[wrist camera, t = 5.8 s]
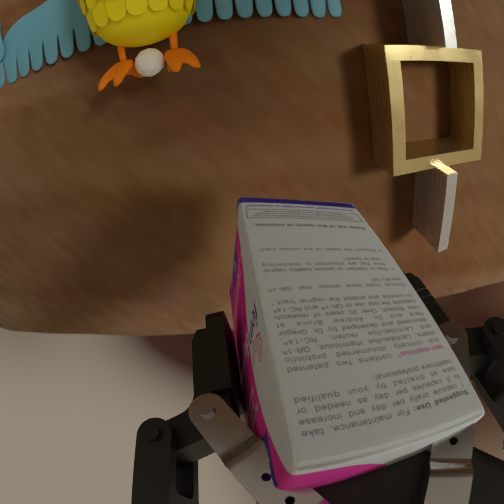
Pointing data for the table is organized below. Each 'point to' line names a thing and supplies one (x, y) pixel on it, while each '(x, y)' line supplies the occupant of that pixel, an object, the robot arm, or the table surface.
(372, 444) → the supplement box
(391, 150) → the square frame with handle
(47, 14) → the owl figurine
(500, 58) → the table surface
